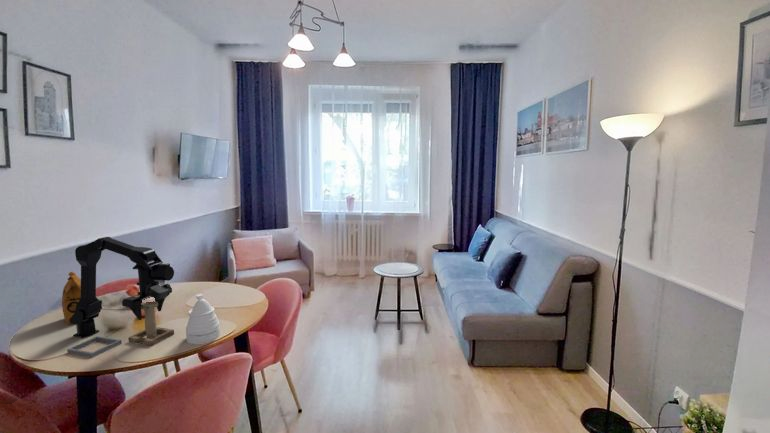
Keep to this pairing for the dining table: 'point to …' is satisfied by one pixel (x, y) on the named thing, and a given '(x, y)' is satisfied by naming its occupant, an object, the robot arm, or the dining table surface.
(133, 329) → the dining table surface
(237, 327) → the dining table surface
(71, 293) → the coffee package
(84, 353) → the frame
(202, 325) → the honey pot
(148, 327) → the handle
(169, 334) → the socket stand
